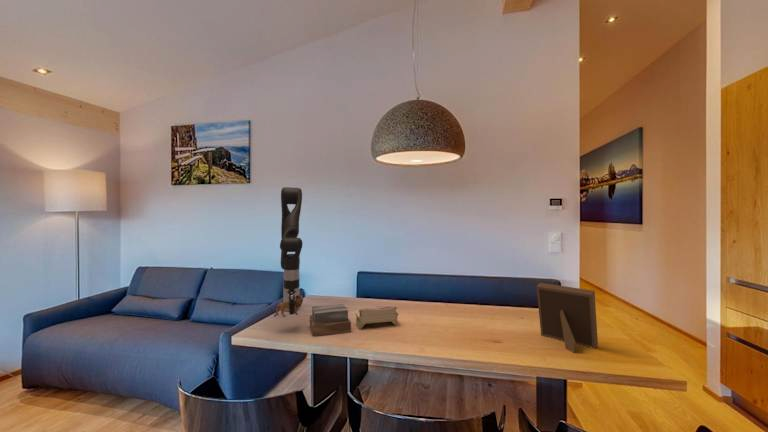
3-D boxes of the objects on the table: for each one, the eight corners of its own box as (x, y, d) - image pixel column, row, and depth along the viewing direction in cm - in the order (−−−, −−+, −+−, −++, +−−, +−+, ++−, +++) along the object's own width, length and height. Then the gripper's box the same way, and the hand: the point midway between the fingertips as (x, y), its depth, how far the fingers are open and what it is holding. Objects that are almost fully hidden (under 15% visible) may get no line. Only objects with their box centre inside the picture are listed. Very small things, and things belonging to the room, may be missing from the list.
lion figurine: (300, 310, 165) (300, 293, 165) (305, 313, 161) (305, 295, 161) (271, 316, 156) (271, 298, 156) (275, 319, 152) (275, 300, 152)
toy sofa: (393, 320, 173) (393, 301, 173) (398, 326, 165) (398, 306, 165) (355, 324, 168) (354, 304, 167) (358, 330, 159) (358, 309, 159)
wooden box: (309, 325, 166) (309, 305, 166) (344, 321, 171) (344, 302, 171) (312, 336, 151) (312, 315, 150) (350, 332, 156) (350, 311, 156)
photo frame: (544, 332, 154) (544, 280, 154) (597, 346, 139) (598, 288, 138) (532, 341, 144) (532, 286, 144) (588, 357, 129) (588, 294, 128)
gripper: (283, 275, 165) (283, 308, 165) (283, 281, 151) (283, 318, 152) (298, 274, 167) (298, 307, 167) (300, 280, 153) (300, 316, 154)
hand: (291, 312), depth 159 cm, fingers closed on lion figurine, 4 cm apart
